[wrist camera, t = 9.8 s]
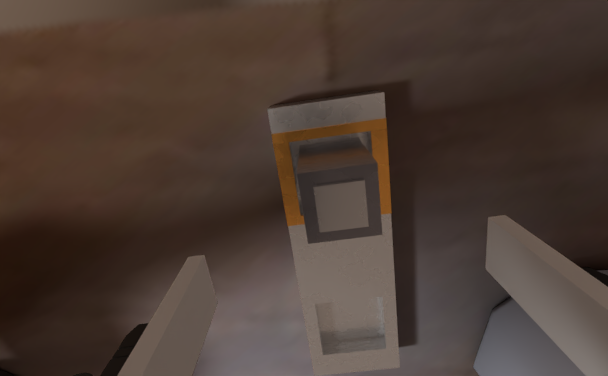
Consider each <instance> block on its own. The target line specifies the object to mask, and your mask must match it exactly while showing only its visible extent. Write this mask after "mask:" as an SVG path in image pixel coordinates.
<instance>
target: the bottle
mask: <svg viewBox="0 0 608 376" xmlns="http://www.w3.org/2000/svg"><path fill="white" fill-rule="evenodd" d="M597 271H599V272H601V273H603V274H606V275H608V270H597ZM474 369H475V370H476V371H477V373H478V374H479V376H585V374H584V373H583V372H582V371H581V370H580V369H579V368H578V367H577V366H576V365H575V364H574V363H573V362H572V361H571V360H570V359H569V357H568V356H567V355H566V354H565V353H564V352H563V351H562V350H561V349H560V348H559V347H558V346H557V345H556V344H555V343H554V341H553V340H552V339H551V338H550V337H549V336H548V335H547V334H546V333H545V332H544V331H543V330H542V329H541V328H540V327H539V325H538V324H537V323H536V322H535V321H534V320H533V319H532V318H531V317H530V316H529V315H528V314H527V313H526V312H525V311H524V309H523V308H522V307H521V306H520V305H519V304H518V303H517V302H516V301H515V300H514V299H513V298H512V297H510V298H509V299H507V300H506V301H504V302H503V303H501V304H500V305H498V306H497V307H495V308H494V309H492V312H491V315H490V318H489V321H488V324H487V326H486V329H485V332H484V335H483V338H482V341H481V344H480V347H479V349H478V352H477V355H476V359H475V363H474Z"/></svg>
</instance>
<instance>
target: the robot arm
mask: <svg viewBox="0 0 608 376" xmlns="http://www.w3.org/2000/svg"><path fill="white" fill-rule="evenodd" d="M485 269H486V270H487V271H488V272H489V273H490V274H491V275H492V276H493V278H494V279H495V280H496V281H497V282H498V283H499V284H500V285H501V286H502V287H503V288H504V289H505V290H506V291H507V292H508V294H509V295H510V296H511V297H512V298H513V299H514V300H515V301H516V302H517V303H518V304H519V305H520V306H521V307H522V308H523V309H524V311H525V312H526V313H527V314H528V315H529V316H530V317H531V318H532V319H533V320H534V321H535V322H536V323H537V324H538V325H539V327H540V328H541V329H542V330H543V331H544V332H545V333H546V334H547V335H548V336H549V337H550V338H551V339H552V340H553V341H554V343H555V344H556V345H557V346H558V347H559V348H560V349H561V350H562V351H563V352H564V353H565V354H566V355H567V356H568V357H569V359H570V360H571V361H572V362H573V363H574V364H575V365H576V366H577V367H578V368H579V369H580V370H581V371H582V372H583V373H584V374H585V376H608V275H606V274H603V273H601V272H599V271H596V270H594V269H591V268H589V267H585V268H580V267H579V266H577V265H576V264H574V263H573V262H572V261H570V260H569V259H567V258H566V257H564V256H563V255H562V254H560V253H559V252H557V251H556V250H555V249H553V248H552V247H550V246H549V245H547V244H546V243H545V242H543V241H542V240H540V239H539V238H537V237H536V236H535V235H533V234H532V233H530V232H529V231H527V230H526V229H525V228H523V227H522V226H520V225H519V224H517V223H516V222H515V221H513V220H512V219H510V218H509V217H507V216H506V215H501V216H493V217H488V228H487V247H486V266H485ZM217 304H218V302H217V298H216V294H215V291H214V287H213V284H212V280H211V277H210V273H209V269H208V266H207V262H206V259H205V255H198V256H191V257H188V258H187V260H186V262H185V263H184V265H183V267H182V268H181V270H180V272H179V273H178V275H177V277H176V278H175V280H174V282H173V283H172V285H171V287H170V288H169V290H168V292H167V293H166V295H165V297H164V298H163V300H162V302H161V303H160V305H159V307H158V309H157V310H156V312H155V314H154V315H153V317H152V319H151V320H150V322H149V323H147V324H139V325H138V326H136V327H135V328H134V329H133V330H132V331H131V332H130V333H129V334H128V335H127V336H126V337H125V339H124V340H123V342H122V343H121V345H120V346H119V350H117V351H116V353H115V354H114V356H113V359H112V360H110V362H109V363H108V365H107V366H106V368H105V369H104V371H103V372H102V374H101V376H192V375H193V372H194V369H195V366H196V364H197V361H198V358H199V355H200V352H201V349H202V346H203V344H204V341H205V338H206V335H207V332H208V329H209V327H210V324H211V321H212V318H213V315H214V312H215V309H216V307H217ZM0 376H13V375H11V374H9V373H7V372H4V371H2V370H0ZM73 376H93V375H92V374H89V373H81V374H76V375H73Z"/></svg>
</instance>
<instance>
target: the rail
mask: <svg viewBox="0 0 608 376" xmlns="http://www.w3.org/2000/svg"><path fill="white" fill-rule="evenodd" d="M267 110H268V116H269V121H270V127H271V133H272V140H273V146H274V152H275V157H276V163H277V169H278V174H279V180H280V185H281V191H282V197H283V202H284V208H285V214H286V219H287V225H288V229H289V235H290V240H291V246H292V252H293V257H294V263H295V269H296V274H297V280H298V286H299V291H300V297H301V303H302V308H303V314H304V320H305V325H306V331H307V337H308V342H309V348H310V354H311V359H312V365H313V371H314V376H319V375H329V374H339V373H349V372H359V371H369V370H379V369H389V368H399V367H400V364H399V346H398V328H397V310H396V292H395V274H394V257H393V239H392V221H391V213H392V212H391V193H390V175H389V157H388V139H387V121H386V113H385V95H384V92H382V91H379V90H375V91H368V92H362V93H355V94H348V95H341V96H334V97H327V98H320V99H314V100H307V101H300V102H293V103H286V104H279V105H272V106H270V107H269V108H268V109H267ZM356 137H358V138H359V139H360V140H361V142H362V143H363V144H364V146H365V147H366V148H367V150H368V151H369V152H370V154H371V155H372V156H373V158H374V159H375V160H376V162H377V163H378V178H379V192H380V207H381V221H382V235H377V236H369V237H361V238H353V239H344V240H336V241H328V242H320V243H312V244H308V241H307V234H306V228H305V222H304V215H303V209H302V203H301V196H300V190H299V184H298V178H297V167H298V156H299V145H306V144H313V143H320V142H327V141H334V140H341V139H348V138H356Z"/></svg>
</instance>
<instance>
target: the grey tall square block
mask: <svg viewBox="0 0 608 376" xmlns="http://www.w3.org/2000/svg"><path fill="white" fill-rule="evenodd" d="M297 178H298V184H299V190H300V196H301V203H302V209H303V215H304V222H305V228H306V234H307V241H308V244H312V243H320V242H328V241H336V240H344V239H353V238H361V237H369V236H377V235H382V221H381V207H380V192H379V178H378V163H377V162H376V160H375V159H374V158H373V156H372V155H371V154H370V152H369V151H368V150H367V148H366V147H365V146H364V144H363V143H362V142H361V140H360V139H359V138H358V137H356V138H348V139H341V140H334V141H327V142H320V143H313V144H306V145H299V156H298V167H297Z"/></svg>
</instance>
